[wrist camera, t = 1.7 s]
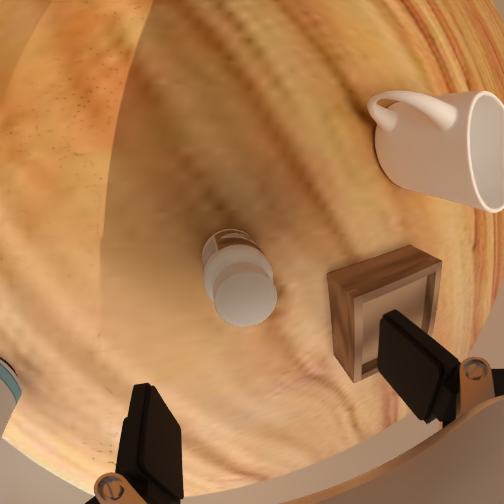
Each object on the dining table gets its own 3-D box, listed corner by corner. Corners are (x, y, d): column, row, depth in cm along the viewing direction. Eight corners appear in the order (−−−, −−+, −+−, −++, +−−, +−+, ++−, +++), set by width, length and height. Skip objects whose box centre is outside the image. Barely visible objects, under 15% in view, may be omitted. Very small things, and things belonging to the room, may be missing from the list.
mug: (355, 65, 19) (442, 30, 9) (440, 131, 22) (522, 136, 12) (326, 148, 21) (420, 147, 11) (420, 202, 24) (504, 230, 14)
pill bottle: (265, 239, 22) (299, 277, 15) (243, 287, 23) (265, 342, 16) (214, 218, 21) (224, 250, 14) (193, 269, 22) (193, 322, 15)
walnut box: (325, 272, 25) (353, 298, 20) (408, 244, 26) (442, 260, 21) (332, 352, 28) (353, 383, 23) (404, 320, 29) (430, 343, 24)
